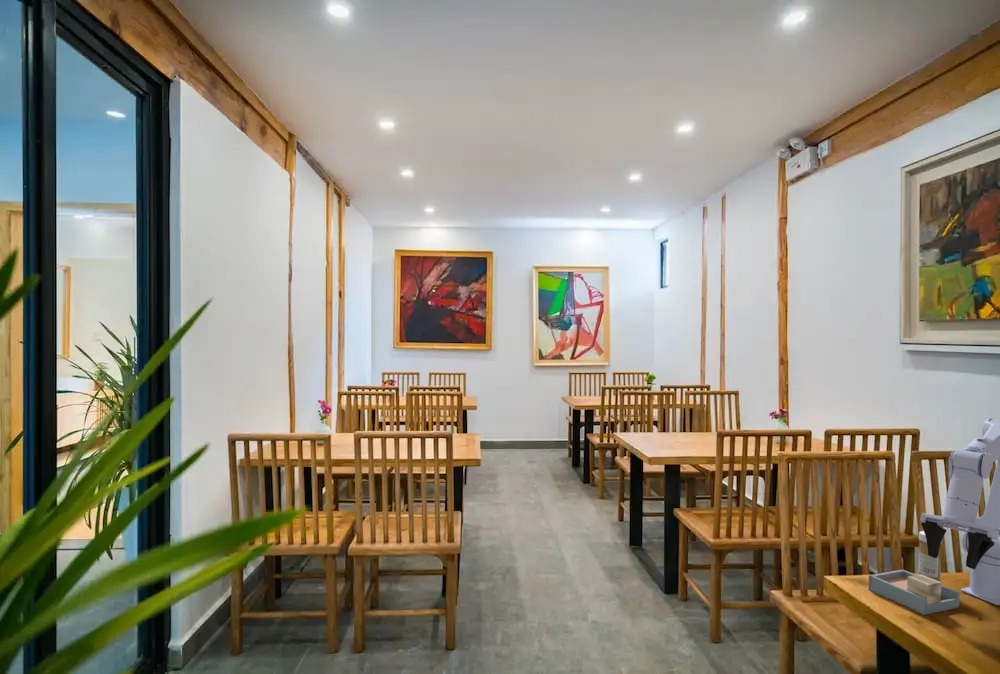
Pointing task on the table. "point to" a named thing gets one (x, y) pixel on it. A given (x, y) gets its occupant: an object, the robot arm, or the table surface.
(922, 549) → the sprinkles bottle
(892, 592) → the trap box
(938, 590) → the beech block
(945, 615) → the table surface
